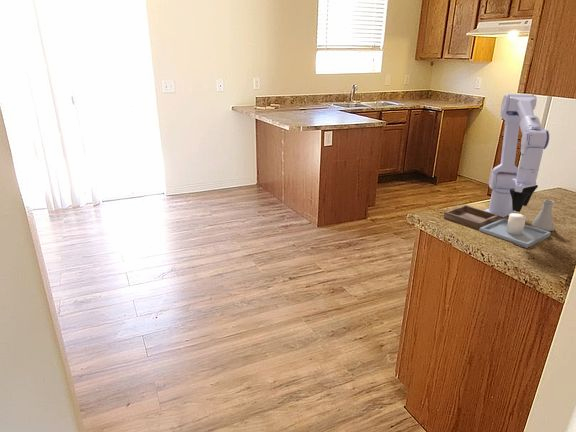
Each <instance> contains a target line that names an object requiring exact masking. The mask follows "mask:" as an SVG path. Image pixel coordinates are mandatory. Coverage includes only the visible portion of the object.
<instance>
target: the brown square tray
mask: <svg viewBox="0 0 576 432" xmlns="http://www.w3.org/2000/svg"><path fill="white" fill-rule="evenodd" d="M484 210H485V209H484ZM484 210H483V209H480V208H476V207H473V206H470V205H467V204H464V205H461V206H458V207H455V208H453V209H449V210H447V211H444V212H443V218H444V219H446V220H450V221H453V222H455V223H459V224H461V225H464V226H467V227H471V228H473V229H477V230H479V229H480V228H481V227H483V226H486V225H488V224H491V223H493V222H495V221H498V220H500V219H499V218H500V216H499V215H497V214H494V213H490V212H487V211H484Z"/></svg>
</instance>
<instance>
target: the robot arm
mask: <svg viewBox="0 0 576 432" xmlns="http://www.w3.org/2000/svg"><path fill="white" fill-rule="evenodd" d="M537 98H538V97H537V95H535V96H534V95H528V93H508V92H507V93H505V94H504V95H503V98H502V101H501V107H500V117H501V118H502V119H503V120H504V130H503V139H502V145H501V146H502V148H501V156H500V164H498V165H496V166H494V167H493V168H492V169H491V171H490V176H489V179H488V186H489V188H490V189H491V190H492V191H491V196H490V199H489V200H490V201H489V205H488V208H486V209H484V211H487V212H490V213H494V214H497V215H499V217H502V218H505V217H507V216H508V217H509V214H511V213H516V212H517V213H520V212H521V210H522V209H523V206H524V207H527V205H528V204H529V202H530V199H531V198H532V196H533V194H534V192H535V191H536V190H537V189H538V187H539V186H538V184H537V179H538V175H539V170H540V166H541V161H542V158H543V153H544V150H545V149H547V147H548V145H549V142H550V132H549V130H548V129H545V128H543V127H542V124H541V121H540V119H539V117H538V116H537V115H535V113H534V110H535V109H536V107H537ZM519 130H520V132H521V134H522V136H521V139H520V144H521V146H520V153H521V154H520V160H519V162H518V163H519V164H518V166H516V165H515V163H516V155H517V147H518V139H519Z"/></svg>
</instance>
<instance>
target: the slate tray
mask: <svg viewBox="0 0 576 432" xmlns="http://www.w3.org/2000/svg"><path fill="white" fill-rule="evenodd" d="M508 219H509V218H508ZM508 219H507V218H505V217H502V218H501V219H499V220H498V221H495V222H493V223H491V224H488V225H486V226H483V227H481V228H479V229H478V230H479V232H480V233H483V234H487V235H490V236H493V237H496V238H498V239H501V240H504V241H507V242H510V243H512V244H513V245H516V246H519V247H522V248H524V247H525V248H524V249H529V248H531V247H533V246H534V245H537V244H538V243H541V241H544V240H546V239H548V238H550V237H551V232H552V231H545V230H541V229H538V228H535V227H532V225H529V224H525V225H524V229H523V234H522V235H511V234H509V233H507V232H506V228H507V224H508ZM528 247H529V248H528Z"/></svg>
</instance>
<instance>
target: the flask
mask: <svg viewBox="0 0 576 432" xmlns="http://www.w3.org/2000/svg"><path fill="white" fill-rule="evenodd" d="M554 204H555V201H554V200H551V199H543V204H542V205H543V206H542V208H541V210H540V211H539V213H538V214H537V215H536V217H535V218H534V220H533V221H532V223H531V226H532V227H535V228H538V229H541V230H545V231H548V232H554V231H555V228H554V220H553V213H552V212H553V205H554Z"/></svg>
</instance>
